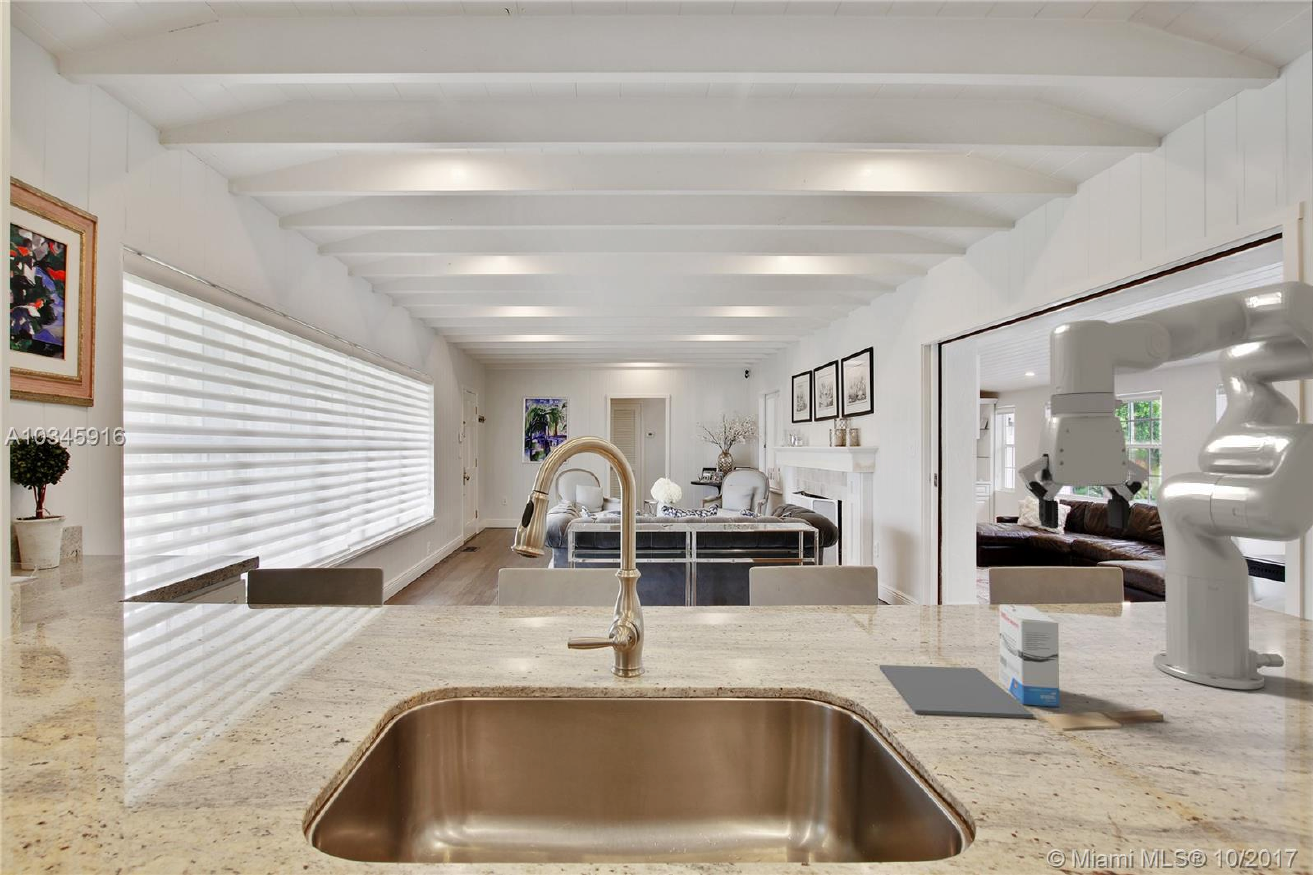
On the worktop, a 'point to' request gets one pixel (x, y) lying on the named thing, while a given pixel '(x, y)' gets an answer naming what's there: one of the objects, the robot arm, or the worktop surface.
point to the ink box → (1029, 655)
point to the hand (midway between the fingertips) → (1083, 527)
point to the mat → (952, 692)
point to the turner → (1101, 719)
